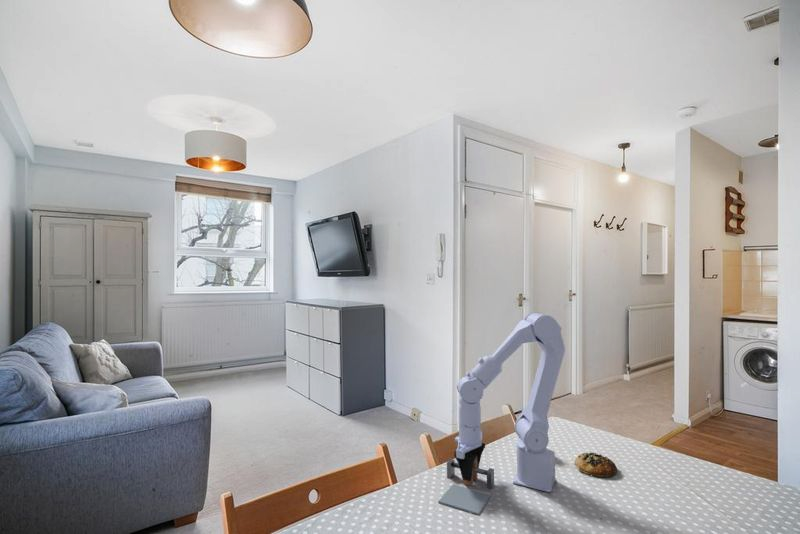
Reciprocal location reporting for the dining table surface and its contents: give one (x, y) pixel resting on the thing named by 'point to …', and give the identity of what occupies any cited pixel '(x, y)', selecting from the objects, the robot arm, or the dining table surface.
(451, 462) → the bar stand
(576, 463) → the bread roll
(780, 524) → the dining table surface
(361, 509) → the dining table surface
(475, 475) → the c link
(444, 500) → the mat
